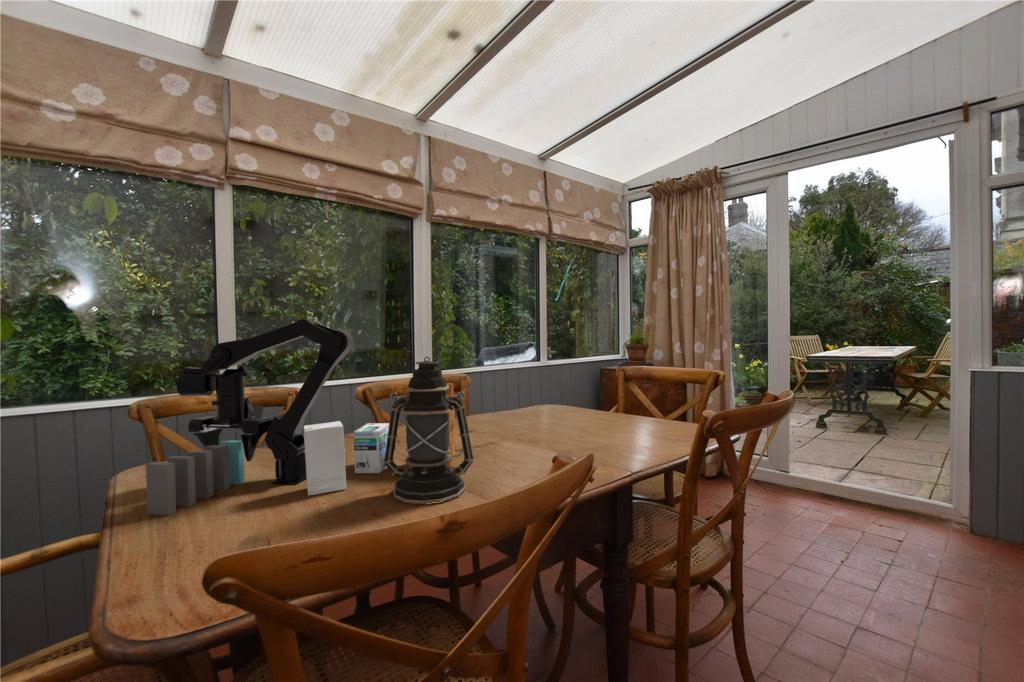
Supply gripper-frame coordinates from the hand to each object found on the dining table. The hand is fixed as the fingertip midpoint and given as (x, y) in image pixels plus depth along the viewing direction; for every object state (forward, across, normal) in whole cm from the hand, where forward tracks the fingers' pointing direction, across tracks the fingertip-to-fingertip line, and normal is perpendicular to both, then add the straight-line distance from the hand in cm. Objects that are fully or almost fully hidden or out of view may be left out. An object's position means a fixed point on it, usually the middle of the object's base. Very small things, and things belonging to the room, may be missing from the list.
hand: (232, 460), depth 107 cm
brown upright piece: (+6, -43, -19) cm, 47 cm away
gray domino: (+5, 0, +18) cm, 19 cm away
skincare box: (+6, -25, +1) cm, 26 cm away
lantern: (+6, -49, -1) cm, 49 cm away
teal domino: (+5, 0, 0) cm, 5 cm away
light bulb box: (+6, -28, -16) cm, 33 cm away
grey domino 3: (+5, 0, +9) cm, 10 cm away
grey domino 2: (+5, 0, +4) cm, 7 cm away
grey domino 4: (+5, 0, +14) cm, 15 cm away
